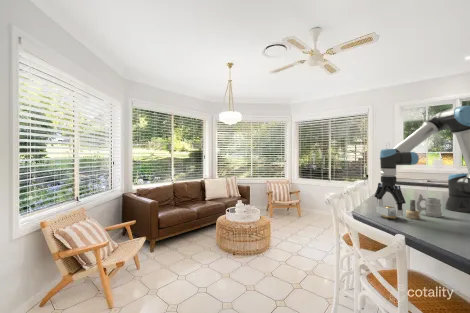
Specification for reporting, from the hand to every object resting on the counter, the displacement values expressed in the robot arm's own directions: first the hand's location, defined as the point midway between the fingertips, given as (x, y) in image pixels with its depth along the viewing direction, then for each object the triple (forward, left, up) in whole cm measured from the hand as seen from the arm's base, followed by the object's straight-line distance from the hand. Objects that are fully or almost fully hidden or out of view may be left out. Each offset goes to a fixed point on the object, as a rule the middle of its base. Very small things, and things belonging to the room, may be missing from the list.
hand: (389, 212), depth 132 cm
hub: (0, 0, -3) cm, 3 cm away
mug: (-26, -1, -3) cm, 26 cm away
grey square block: (0, 0, -1) cm, 1 cm away
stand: (-12, +3, -3) cm, 13 cm away
